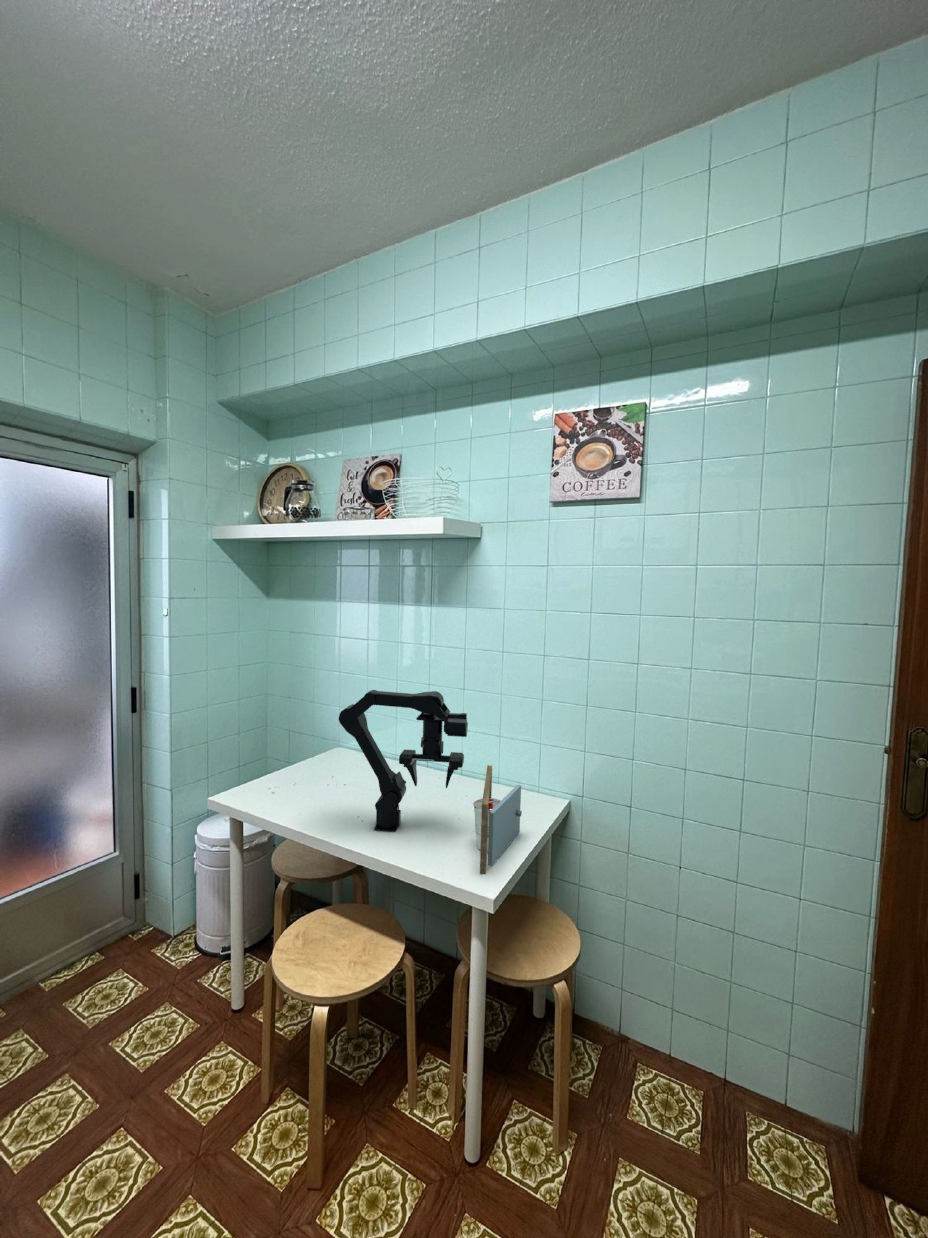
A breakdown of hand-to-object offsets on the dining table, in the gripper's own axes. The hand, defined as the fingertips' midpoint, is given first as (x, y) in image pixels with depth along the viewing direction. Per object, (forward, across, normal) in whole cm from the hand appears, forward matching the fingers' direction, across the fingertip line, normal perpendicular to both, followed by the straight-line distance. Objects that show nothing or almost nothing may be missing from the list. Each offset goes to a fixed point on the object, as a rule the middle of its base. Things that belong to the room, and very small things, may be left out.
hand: (431, 786), depth 151 cm
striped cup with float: (+13, -18, +8) cm, 24 cm away
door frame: (+13, -17, +7) cm, 23 cm away
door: (+13, -23, +8) cm, 27 cm away
